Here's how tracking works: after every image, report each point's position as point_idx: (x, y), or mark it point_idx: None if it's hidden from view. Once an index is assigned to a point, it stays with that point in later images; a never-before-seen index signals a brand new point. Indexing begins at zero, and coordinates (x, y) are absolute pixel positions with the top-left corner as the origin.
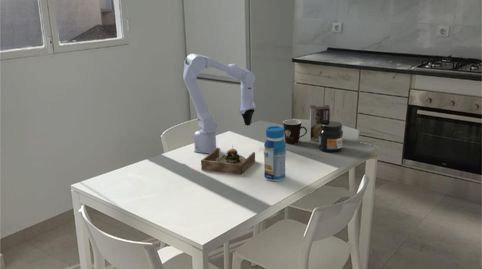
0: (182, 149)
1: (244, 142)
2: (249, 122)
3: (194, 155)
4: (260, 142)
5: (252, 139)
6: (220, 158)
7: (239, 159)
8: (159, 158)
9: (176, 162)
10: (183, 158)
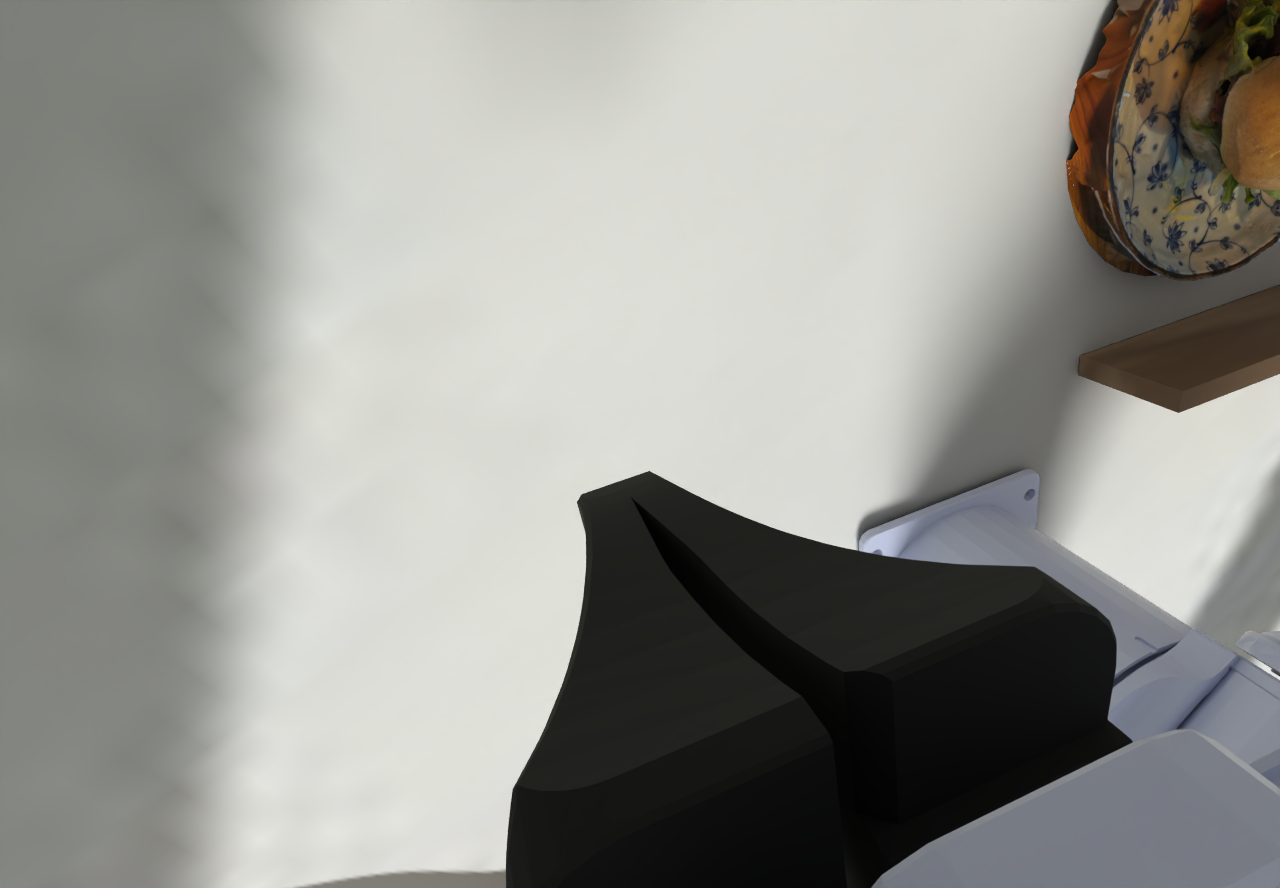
0: None
1: (493, 457)
2: (695, 497)
3: None
4: (312, 232)
5: (274, 455)
6: (1214, 260)
7: (1155, 47)
8: None
9: (1243, 553)
10: (1163, 581)
